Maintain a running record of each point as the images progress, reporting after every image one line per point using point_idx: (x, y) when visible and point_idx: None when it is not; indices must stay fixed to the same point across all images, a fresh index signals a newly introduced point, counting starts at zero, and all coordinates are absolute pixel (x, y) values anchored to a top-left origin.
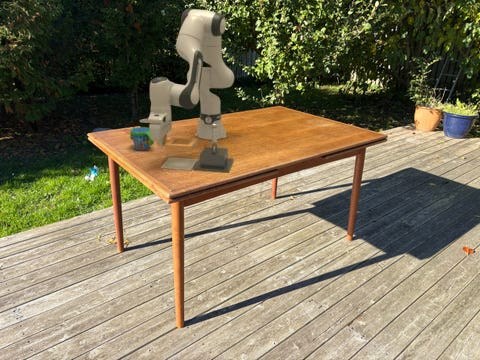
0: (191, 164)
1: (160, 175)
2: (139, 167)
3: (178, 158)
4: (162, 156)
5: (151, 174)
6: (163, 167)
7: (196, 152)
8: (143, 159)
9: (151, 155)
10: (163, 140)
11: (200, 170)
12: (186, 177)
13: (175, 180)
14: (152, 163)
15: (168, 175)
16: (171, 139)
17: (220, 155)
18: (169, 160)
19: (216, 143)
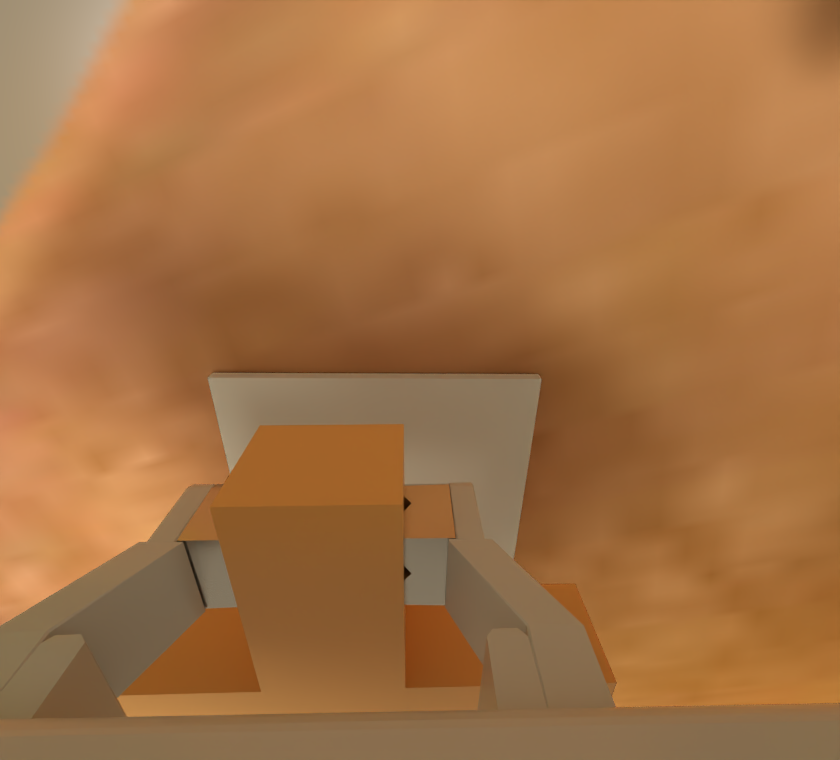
0: None
1: (47, 422)
2: (127, 102)
3: (510, 467)
4: (597, 274)
5: (15, 336)
6: (216, 405)
7: (716, 548)
8: (450, 29)
9: (638, 100)
10: (319, 610)
11: None
12: None
13: (26, 548)
14: (327, 232)
15: (88, 481)
16: (444, 701)
17: None
18: (436, 403)
19: None
